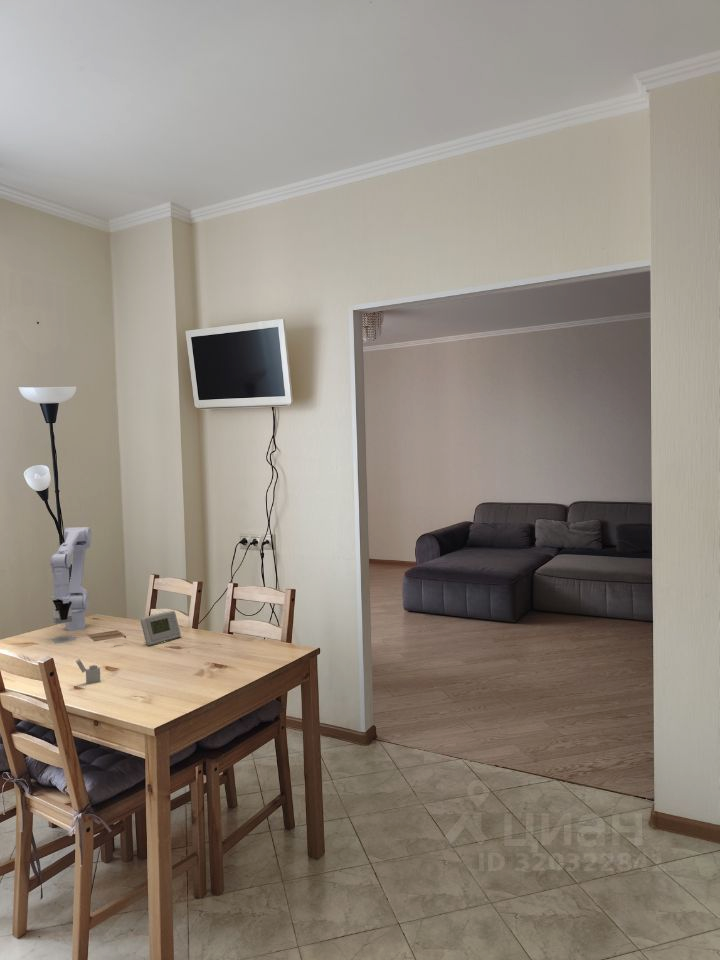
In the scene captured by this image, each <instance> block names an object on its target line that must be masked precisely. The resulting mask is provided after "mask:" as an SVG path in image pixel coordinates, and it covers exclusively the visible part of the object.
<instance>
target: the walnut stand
mask: <svg viewBox="0 0 720 960" xmlns="http://www.w3.org/2000/svg"><path fill="white" fill-rule="evenodd" d="M87 637H89V638H90V639H91V640H92V641H93V642H100V641H106V640H110V639H111V640H112V639H118V638H125V639H127V635H125V634H124V633H122V632H121V631H119V630H110V631H104V632H98V633H97V632H96V633H91V634H87Z"/></svg>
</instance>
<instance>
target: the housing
mask: <svg viewBox="0 0 720 960" xmlns="http://www.w3.org/2000/svg"><path fill="white" fill-rule="evenodd" d="M52 615H53V616H52V618H53V620H52V621H53V623H54V624H55V625H59V624H66V622H72V610H71V608H69V612H68V618H67V619H66V620H61V618H60V613H59V609H56V608H54V609H52Z"/></svg>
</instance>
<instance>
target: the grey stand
mask: <svg viewBox="0 0 720 960" xmlns="http://www.w3.org/2000/svg"><path fill="white" fill-rule="evenodd" d="M50 641H52V642H53V643H54V644H60V643H61V644H62V643H65V642H72V641H77V638H76V637H74V636H73V635H68V636H62V637H55V638H50Z"/></svg>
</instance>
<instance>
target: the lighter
mask: <svg viewBox="0 0 720 960" xmlns="http://www.w3.org/2000/svg"><path fill="white" fill-rule="evenodd" d="M75 663H76V664H77V666H78V668H79V669H80V671H81V672H82V673H85V683H86V684H87V683H89V684H93V683H92V682H94V683H98V682H97V681H100V682H101V668H100V667H99V666H98V665H96V664H94V665H93V664H92V665H89V666H88V667H89V668H86V667H85V665H84V664H83V662H82V660H81V659H80V658H78V659H77V660H76V661H75Z"/></svg>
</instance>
